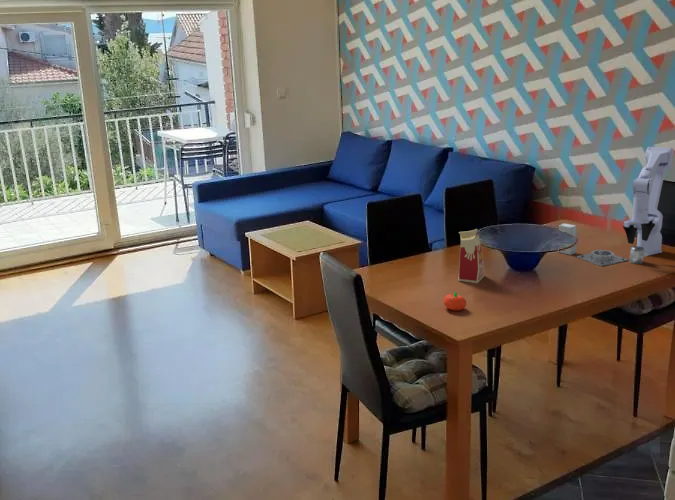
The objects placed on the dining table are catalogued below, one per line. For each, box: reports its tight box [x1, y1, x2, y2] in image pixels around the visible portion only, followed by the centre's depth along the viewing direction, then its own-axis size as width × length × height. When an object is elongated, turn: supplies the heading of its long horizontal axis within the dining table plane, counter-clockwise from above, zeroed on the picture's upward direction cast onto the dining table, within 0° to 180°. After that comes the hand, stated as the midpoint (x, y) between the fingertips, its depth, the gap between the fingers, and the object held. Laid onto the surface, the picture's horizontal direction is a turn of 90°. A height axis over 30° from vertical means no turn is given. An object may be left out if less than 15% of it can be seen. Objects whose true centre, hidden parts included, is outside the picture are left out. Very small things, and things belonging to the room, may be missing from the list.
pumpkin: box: [443, 291, 467, 311], centre depth 245 cm, size 7×8×6 cm
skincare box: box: [558, 222, 578, 256], centre depth 299 cm, size 6×4×12 cm
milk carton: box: [457, 228, 485, 284], centre depth 272 cm, size 9×9×20 cm
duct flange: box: [576, 249, 629, 267], centre depth 290 cm, size 14×14×2 cm
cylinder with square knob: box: [628, 245, 649, 265], centre depth 283 cm, size 5×7×6 cm
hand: (637, 241), depth 282 cm, fingers open, 7 cm apart
